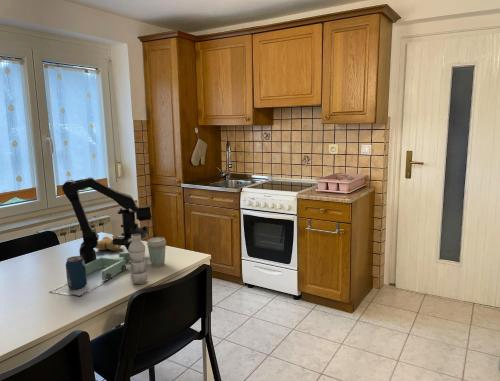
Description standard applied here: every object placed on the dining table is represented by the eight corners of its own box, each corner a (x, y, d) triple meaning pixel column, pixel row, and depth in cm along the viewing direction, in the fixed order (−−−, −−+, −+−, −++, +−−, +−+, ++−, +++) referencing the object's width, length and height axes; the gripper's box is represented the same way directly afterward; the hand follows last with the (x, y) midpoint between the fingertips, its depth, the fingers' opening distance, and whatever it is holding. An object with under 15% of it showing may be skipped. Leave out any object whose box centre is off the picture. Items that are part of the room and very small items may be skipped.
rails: (48, 292, 151) (48, 291, 151) (100, 265, 178) (100, 265, 178) (79, 297, 146) (79, 296, 146) (127, 269, 173) (127, 269, 173)
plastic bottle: (139, 287, 154) (135, 238, 151) (127, 284, 158) (123, 236, 154) (151, 281, 159) (148, 234, 156) (139, 278, 163) (136, 232, 159)
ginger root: (112, 253, 191) (108, 237, 190) (88, 257, 197) (84, 242, 196) (133, 245, 205) (129, 230, 205) (109, 249, 211) (106, 234, 211)
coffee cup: (162, 268, 173) (161, 242, 171) (144, 267, 175) (143, 241, 173) (170, 262, 182) (169, 237, 180) (153, 261, 183) (151, 236, 181)
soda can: (90, 284, 158) (87, 255, 156) (81, 291, 151) (78, 261, 149) (74, 283, 159) (71, 255, 157) (64, 290, 152) (61, 261, 150)
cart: (77, 276, 165) (76, 267, 164) (113, 258, 186) (112, 250, 185) (106, 280, 160) (105, 271, 159) (139, 261, 181) (139, 253, 181)
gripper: (131, 228, 173) (133, 262, 176) (154, 218, 191) (156, 249, 193) (110, 226, 177) (113, 259, 180) (135, 217, 194) (137, 247, 197)
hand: (131, 253), depth 187 cm, fingers closed
